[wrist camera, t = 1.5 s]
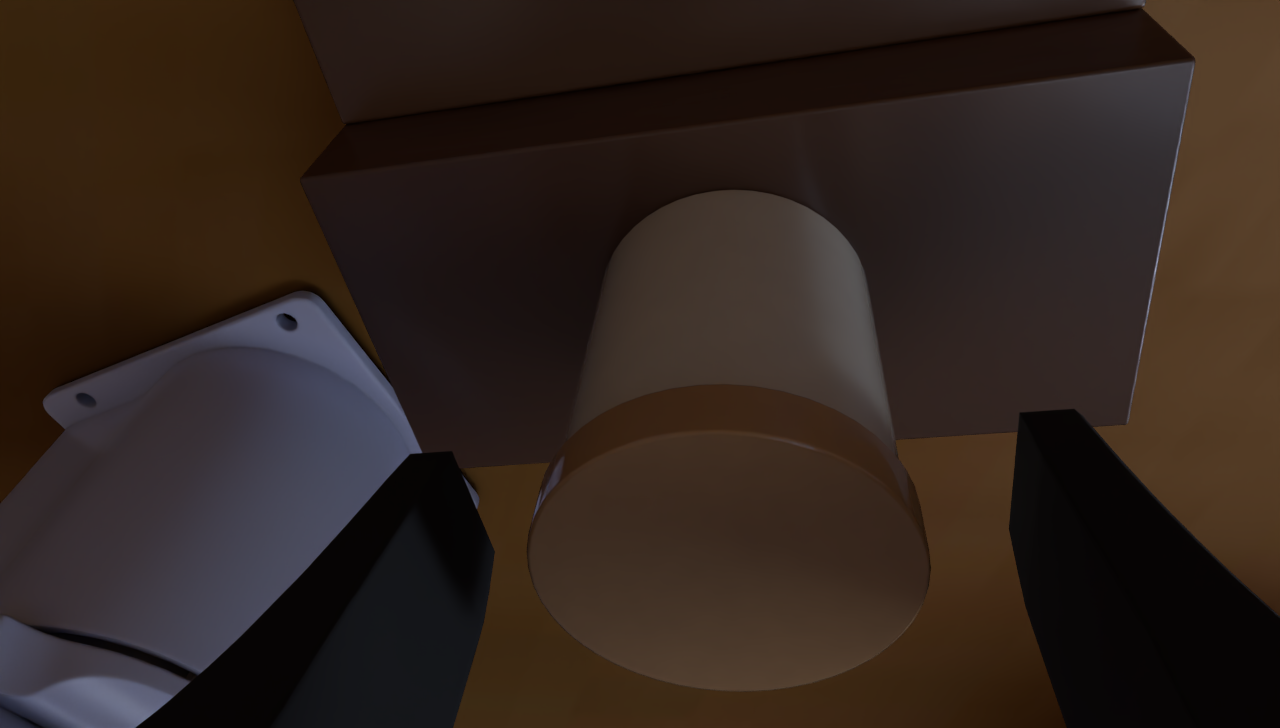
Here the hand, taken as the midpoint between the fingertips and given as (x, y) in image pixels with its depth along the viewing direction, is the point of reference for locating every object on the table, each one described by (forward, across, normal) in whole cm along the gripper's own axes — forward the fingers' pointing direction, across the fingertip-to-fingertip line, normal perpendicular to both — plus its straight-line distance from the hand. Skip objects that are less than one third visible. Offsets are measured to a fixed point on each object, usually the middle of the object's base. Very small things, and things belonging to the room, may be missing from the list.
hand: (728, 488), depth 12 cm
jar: (+4, 0, 0) cm, 4 cm away
